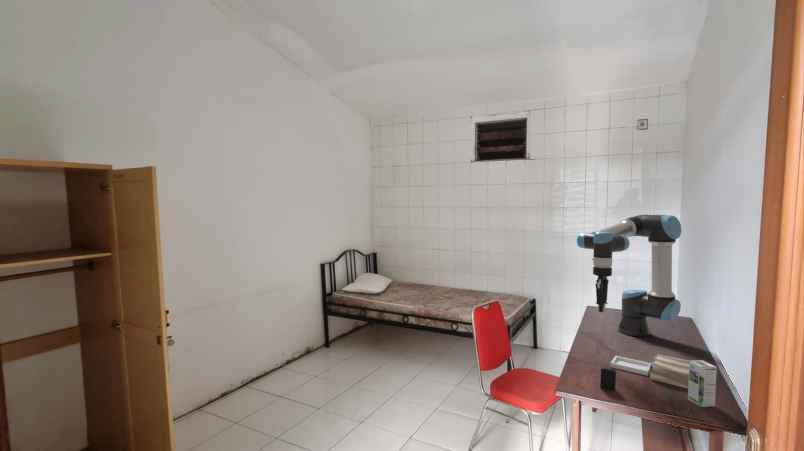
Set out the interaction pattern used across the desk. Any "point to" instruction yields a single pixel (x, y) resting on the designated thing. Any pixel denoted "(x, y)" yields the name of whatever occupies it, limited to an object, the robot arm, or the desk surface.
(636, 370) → the white tray
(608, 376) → the ink cartridge
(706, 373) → the syrup box
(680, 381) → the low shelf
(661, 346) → the desk surface
